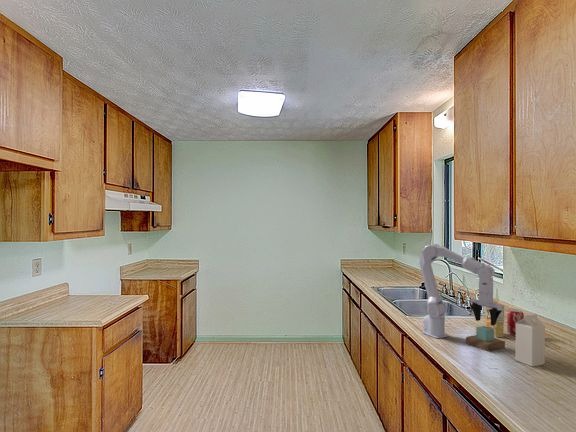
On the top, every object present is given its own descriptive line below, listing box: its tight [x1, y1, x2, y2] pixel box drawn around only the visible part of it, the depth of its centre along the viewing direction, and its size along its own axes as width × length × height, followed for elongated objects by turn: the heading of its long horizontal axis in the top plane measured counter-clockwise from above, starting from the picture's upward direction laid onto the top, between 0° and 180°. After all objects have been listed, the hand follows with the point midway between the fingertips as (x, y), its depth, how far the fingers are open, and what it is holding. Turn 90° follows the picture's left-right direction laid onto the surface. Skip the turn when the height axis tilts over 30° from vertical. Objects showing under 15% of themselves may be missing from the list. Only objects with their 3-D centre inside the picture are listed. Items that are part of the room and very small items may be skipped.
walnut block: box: [465, 334, 506, 352], centre depth 168 cm, size 11×11×4 cm
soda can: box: [506, 308, 524, 337], centre depth 185 cm, size 7×7×12 cm
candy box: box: [484, 301, 505, 338], centre depth 185 cm, size 9×4×15 cm, turn 6°
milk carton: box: [514, 313, 546, 367], centre depth 149 cm, size 7×7×19 cm
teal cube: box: [475, 325, 495, 341], centre depth 168 cm, size 5×5×5 cm
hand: (485, 322), depth 168 cm, fingers open, 7 cm apart
